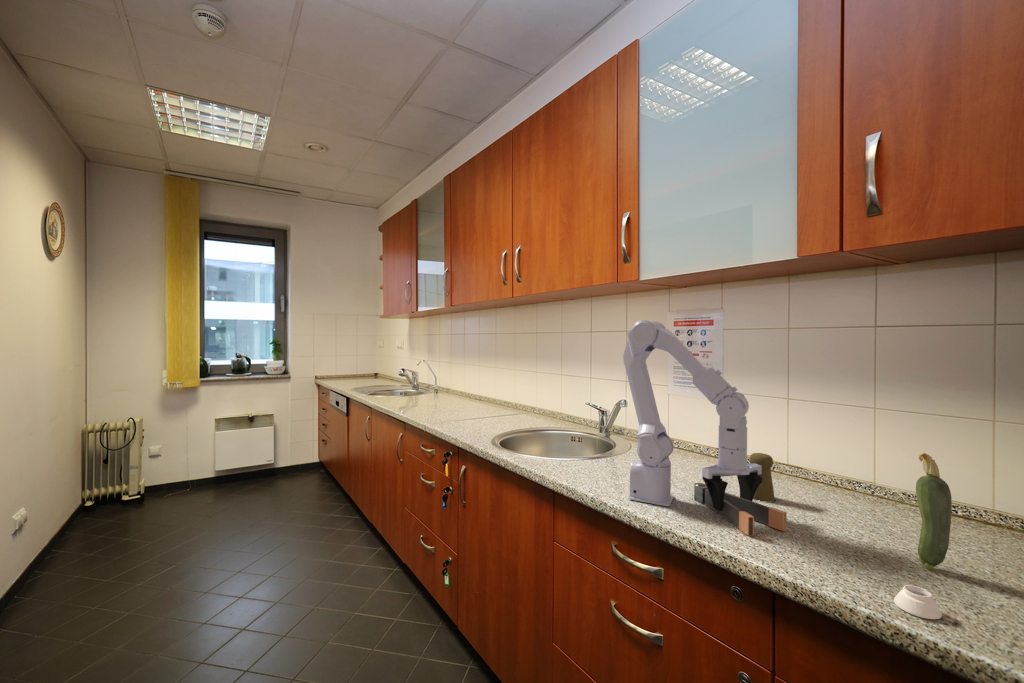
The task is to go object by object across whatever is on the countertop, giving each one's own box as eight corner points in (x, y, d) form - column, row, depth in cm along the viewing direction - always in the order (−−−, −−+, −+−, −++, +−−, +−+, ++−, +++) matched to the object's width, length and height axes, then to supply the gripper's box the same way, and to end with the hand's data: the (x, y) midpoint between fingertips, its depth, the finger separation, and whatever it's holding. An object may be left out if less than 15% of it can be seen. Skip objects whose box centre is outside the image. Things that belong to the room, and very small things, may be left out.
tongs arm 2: (710, 503, 104) (710, 488, 104) (713, 502, 104) (713, 487, 104) (783, 531, 89) (783, 513, 89) (786, 530, 89) (786, 512, 89)
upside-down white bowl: (889, 607, 64) (935, 626, 60) (889, 587, 64) (936, 605, 60) (900, 597, 67) (945, 614, 62) (900, 578, 67) (946, 593, 62)
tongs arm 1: (703, 504, 104) (704, 488, 104) (708, 503, 104) (708, 488, 104) (747, 535, 87) (748, 517, 87) (753, 535, 87) (753, 516, 87)
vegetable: (949, 570, 74) (950, 453, 75) (952, 580, 71) (953, 458, 71) (914, 561, 77) (915, 449, 77) (915, 570, 74) (916, 453, 74)
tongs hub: (691, 498, 108) (691, 483, 108) (701, 497, 108) (701, 482, 108) (702, 504, 104) (702, 488, 104) (712, 503, 105) (712, 487, 105)
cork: (778, 502, 106) (779, 457, 106) (751, 500, 107) (752, 456, 107) (769, 494, 111) (769, 451, 111) (743, 492, 113) (744, 450, 113)
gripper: (719, 453, 91) (718, 518, 91) (773, 449, 95) (772, 511, 95) (695, 445, 98) (695, 505, 98) (747, 442, 102) (747, 500, 102)
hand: (731, 507), depth 97 cm, fingers open, 7 cm apart
